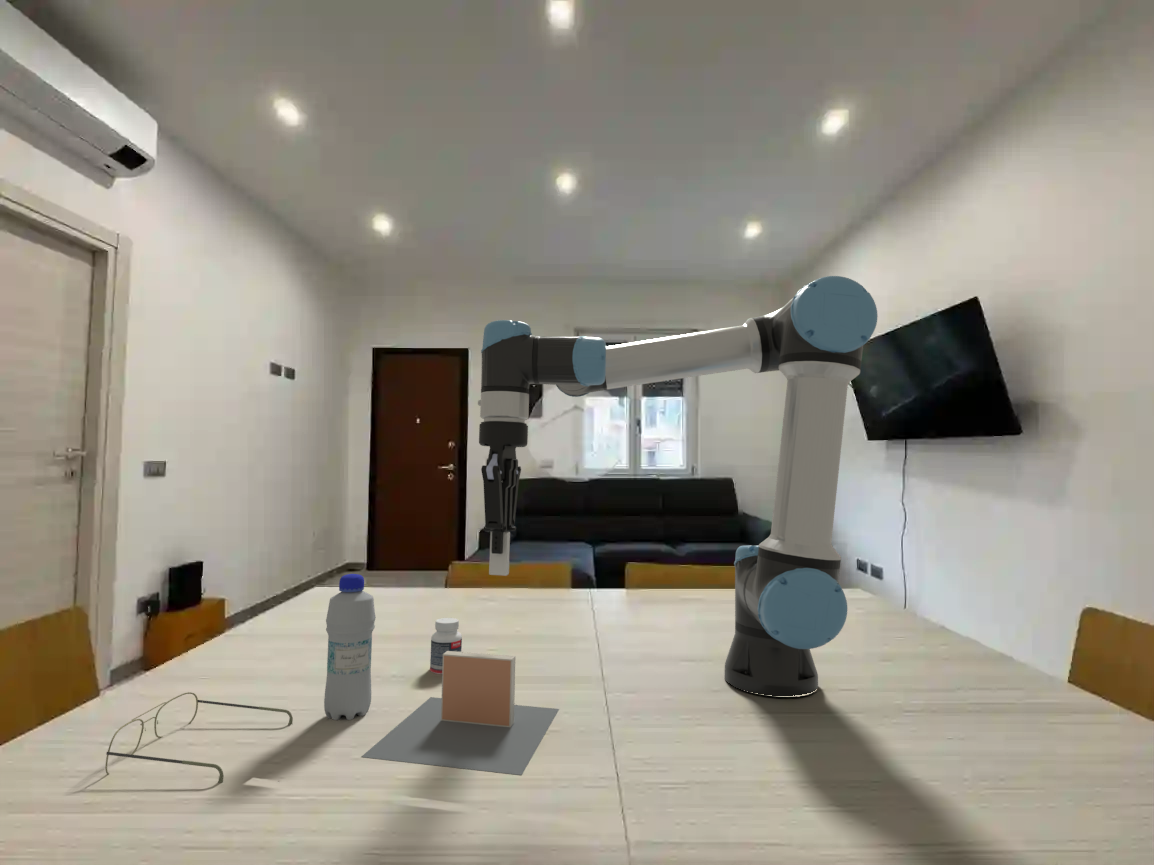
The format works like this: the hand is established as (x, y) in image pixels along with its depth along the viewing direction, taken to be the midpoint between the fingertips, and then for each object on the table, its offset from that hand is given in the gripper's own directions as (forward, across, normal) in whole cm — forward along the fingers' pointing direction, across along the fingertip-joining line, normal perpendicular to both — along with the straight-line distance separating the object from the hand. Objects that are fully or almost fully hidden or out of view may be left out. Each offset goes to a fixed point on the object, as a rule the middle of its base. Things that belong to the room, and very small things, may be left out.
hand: (498, 574), depth 96 cm
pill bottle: (+20, -11, -13) cm, 26 cm away
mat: (+19, +12, 0) cm, 23 cm away
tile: (+19, +9, 0) cm, 21 cm away
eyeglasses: (+20, +23, -31) cm, 43 cm away
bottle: (+20, +10, -19) cm, 29 cm away
